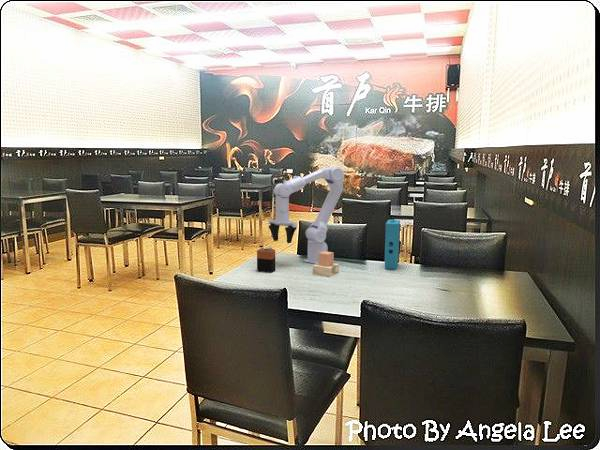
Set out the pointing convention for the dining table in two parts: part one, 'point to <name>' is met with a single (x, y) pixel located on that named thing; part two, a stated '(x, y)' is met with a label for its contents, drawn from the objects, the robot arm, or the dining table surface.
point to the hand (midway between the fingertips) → (282, 241)
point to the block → (392, 244)
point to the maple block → (325, 270)
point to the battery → (266, 260)
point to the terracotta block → (325, 258)
